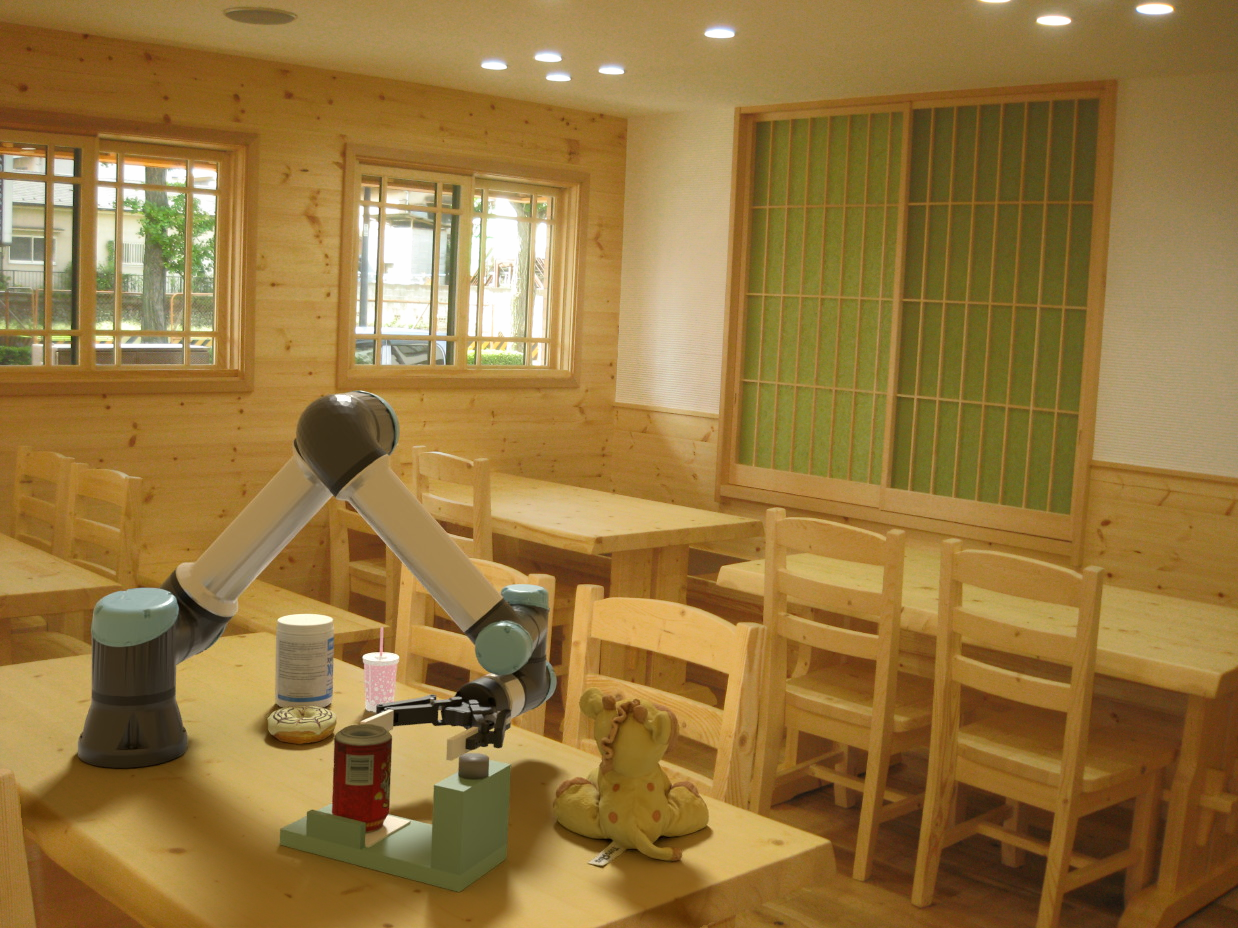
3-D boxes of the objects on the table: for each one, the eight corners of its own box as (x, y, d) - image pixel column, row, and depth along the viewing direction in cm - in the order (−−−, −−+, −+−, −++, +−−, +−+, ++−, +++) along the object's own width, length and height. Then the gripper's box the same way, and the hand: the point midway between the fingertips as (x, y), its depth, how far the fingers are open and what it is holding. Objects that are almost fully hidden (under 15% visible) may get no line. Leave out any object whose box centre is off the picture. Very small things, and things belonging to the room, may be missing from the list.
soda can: (392, 833, 155) (395, 736, 154) (334, 838, 153) (336, 739, 152) (385, 812, 162) (388, 719, 160) (329, 816, 159) (331, 722, 158)
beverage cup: (405, 707, 215) (407, 627, 213) (380, 715, 209) (382, 633, 208) (378, 700, 218) (381, 621, 216) (353, 708, 213) (355, 627, 211)
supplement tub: (340, 708, 213) (343, 622, 211) (285, 714, 207) (287, 627, 206) (320, 693, 221) (322, 611, 219) (266, 699, 215) (269, 615, 214)
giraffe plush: (713, 810, 175) (722, 675, 173) (690, 879, 152) (699, 725, 150) (571, 793, 179) (577, 661, 177) (527, 858, 156) (534, 707, 154)
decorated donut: (260, 745, 192) (260, 721, 192) (275, 723, 203) (276, 700, 203) (328, 747, 193) (329, 723, 193) (340, 725, 204) (341, 703, 203)
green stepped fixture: (279, 844, 156) (282, 734, 154) (334, 815, 166) (337, 712, 164) (459, 891, 145) (464, 774, 144) (506, 858, 155) (511, 748, 154)
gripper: (562, 742, 179) (485, 786, 160) (415, 712, 190) (327, 751, 170) (565, 690, 179) (488, 729, 159) (417, 663, 189) (329, 697, 170)
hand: (404, 740), depth 165 cm, fingers open, 13 cm apart
